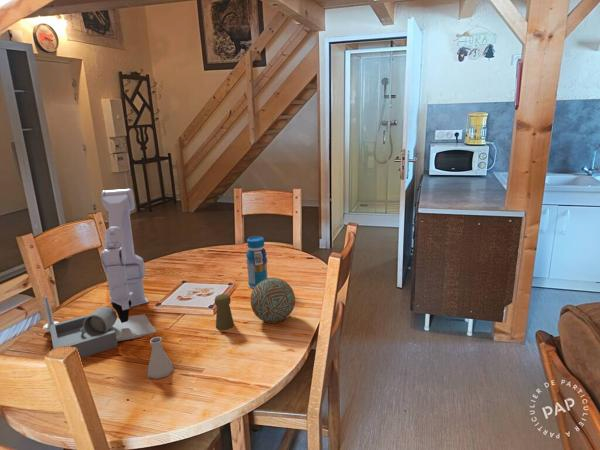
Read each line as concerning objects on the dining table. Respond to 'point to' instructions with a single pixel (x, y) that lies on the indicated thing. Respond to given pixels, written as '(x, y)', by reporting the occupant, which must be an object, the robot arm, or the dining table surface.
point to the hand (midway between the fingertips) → (124, 321)
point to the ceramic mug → (99, 321)
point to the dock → (88, 345)
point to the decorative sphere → (272, 300)
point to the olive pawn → (223, 312)
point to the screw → (48, 314)
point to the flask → (158, 360)
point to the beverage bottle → (256, 261)
